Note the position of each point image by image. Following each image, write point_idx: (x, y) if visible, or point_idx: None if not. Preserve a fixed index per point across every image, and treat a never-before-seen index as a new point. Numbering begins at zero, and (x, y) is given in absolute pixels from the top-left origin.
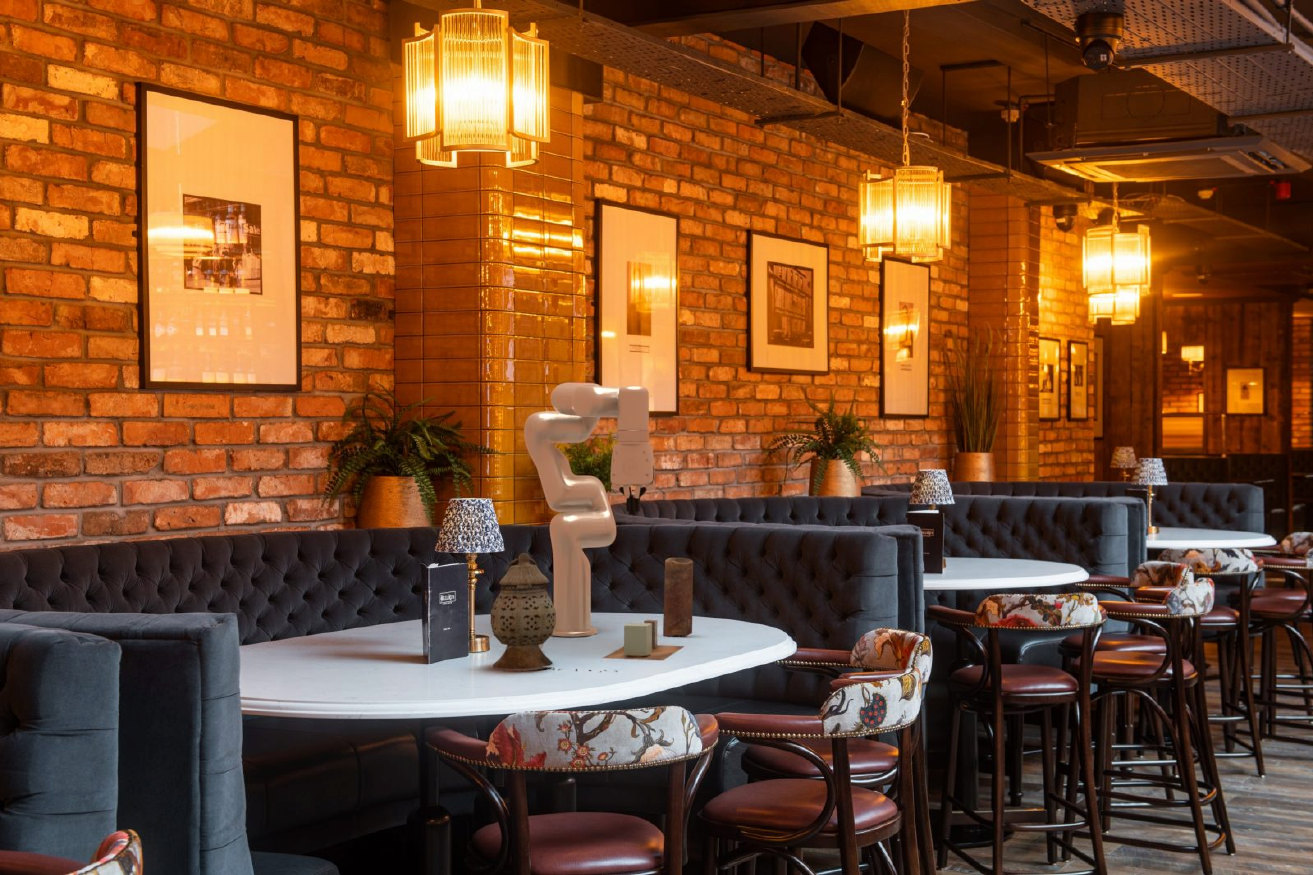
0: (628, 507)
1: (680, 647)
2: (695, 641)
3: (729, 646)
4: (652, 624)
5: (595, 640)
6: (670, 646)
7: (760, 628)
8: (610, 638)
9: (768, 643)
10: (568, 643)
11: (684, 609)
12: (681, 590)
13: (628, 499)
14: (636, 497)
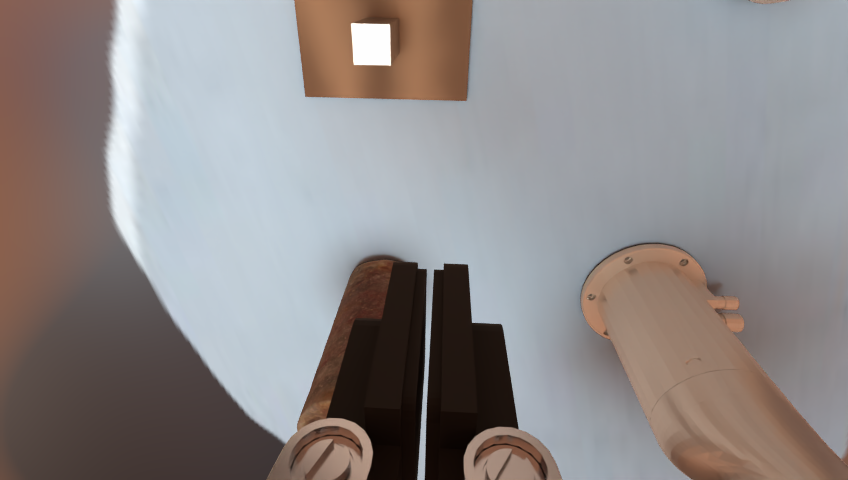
0: (470, 313)
1: (307, 68)
2: (326, 235)
3: (221, 173)
4: (361, 22)
5: (571, 210)
6: (339, 83)
7: (260, 410)
8: (537, 247)
9: (158, 234)
10: (640, 147)
11: (346, 303)
12: (342, 335)
13: (476, 398)
14: (341, 441)
